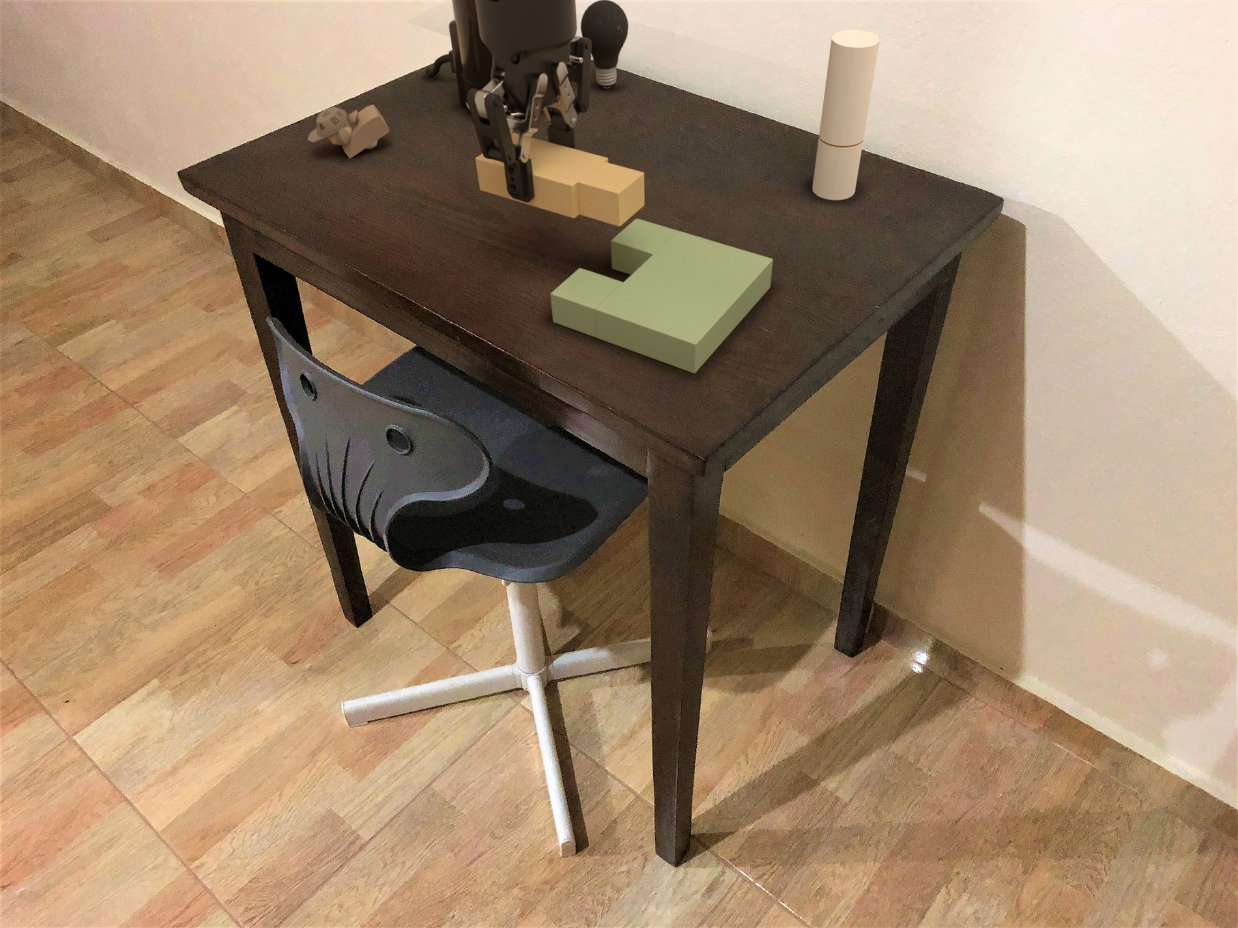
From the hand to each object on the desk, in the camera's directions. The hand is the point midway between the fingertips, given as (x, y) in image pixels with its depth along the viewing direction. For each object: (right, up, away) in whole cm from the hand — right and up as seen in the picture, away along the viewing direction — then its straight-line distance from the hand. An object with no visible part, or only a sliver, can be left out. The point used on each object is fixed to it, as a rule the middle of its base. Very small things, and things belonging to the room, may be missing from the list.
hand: (543, 182), depth 81 cm
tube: (+29, +4, +15) cm, 32 cm away
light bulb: (+5, +22, +34) cm, 41 cm away
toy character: (-23, +10, +24) cm, 35 cm away
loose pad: (+2, -1, 0) cm, 2 cm away
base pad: (+11, -10, +1) cm, 15 cm away
